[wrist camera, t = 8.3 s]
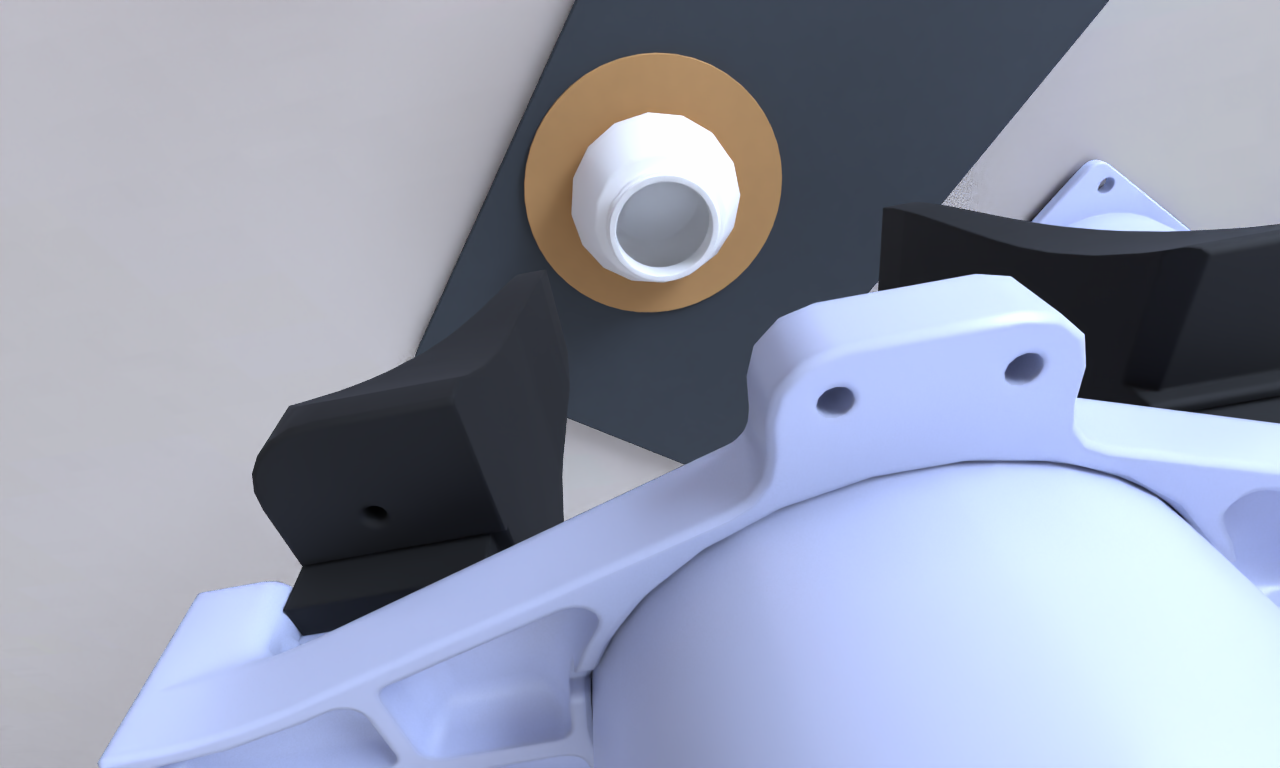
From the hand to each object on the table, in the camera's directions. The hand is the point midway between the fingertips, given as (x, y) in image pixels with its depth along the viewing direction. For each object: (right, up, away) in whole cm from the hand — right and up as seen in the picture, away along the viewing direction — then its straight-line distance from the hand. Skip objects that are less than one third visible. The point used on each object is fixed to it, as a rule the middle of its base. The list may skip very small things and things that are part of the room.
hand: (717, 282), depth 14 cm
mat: (+1, +4, +7) cm, 8 cm away
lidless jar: (-1, +4, +6) cm, 7 cm away
